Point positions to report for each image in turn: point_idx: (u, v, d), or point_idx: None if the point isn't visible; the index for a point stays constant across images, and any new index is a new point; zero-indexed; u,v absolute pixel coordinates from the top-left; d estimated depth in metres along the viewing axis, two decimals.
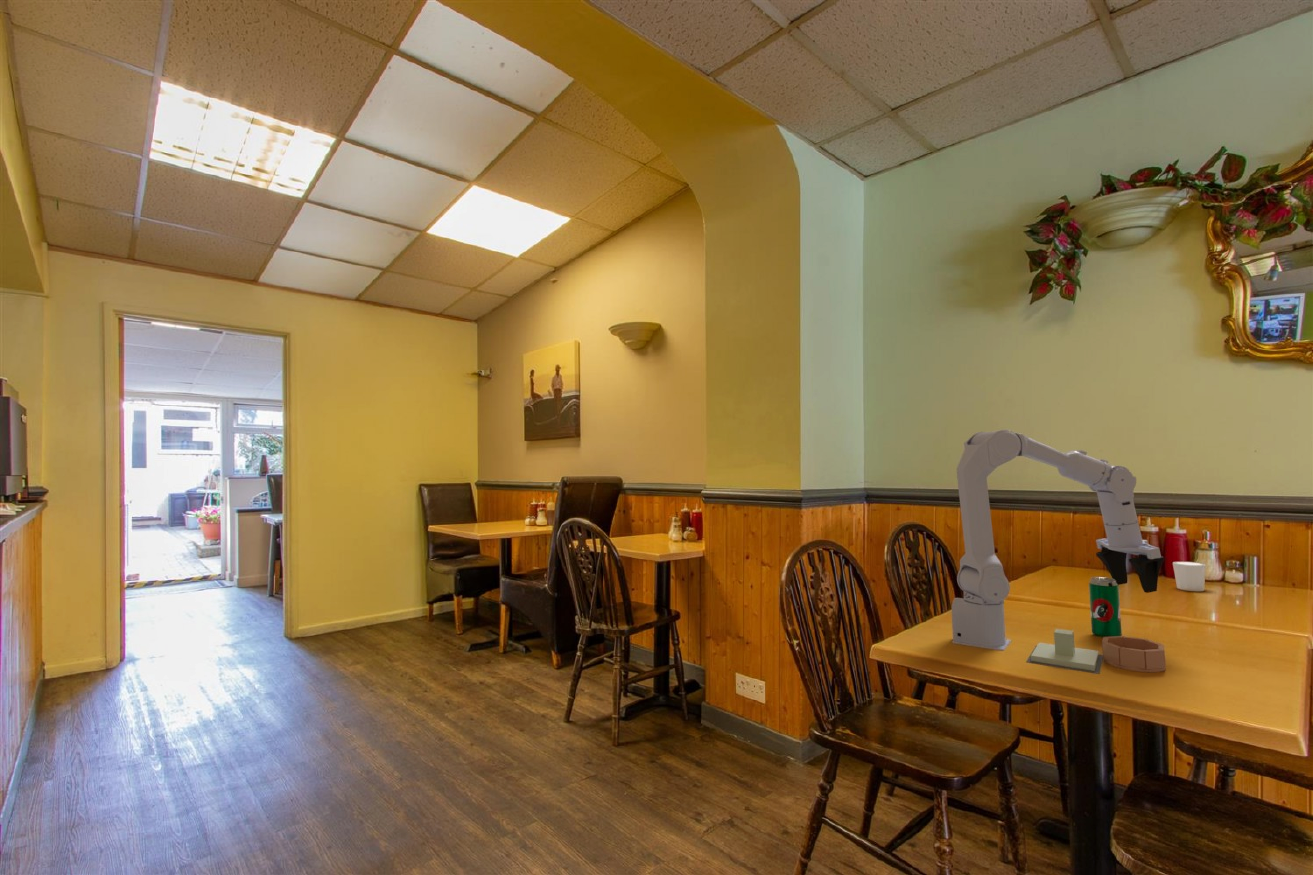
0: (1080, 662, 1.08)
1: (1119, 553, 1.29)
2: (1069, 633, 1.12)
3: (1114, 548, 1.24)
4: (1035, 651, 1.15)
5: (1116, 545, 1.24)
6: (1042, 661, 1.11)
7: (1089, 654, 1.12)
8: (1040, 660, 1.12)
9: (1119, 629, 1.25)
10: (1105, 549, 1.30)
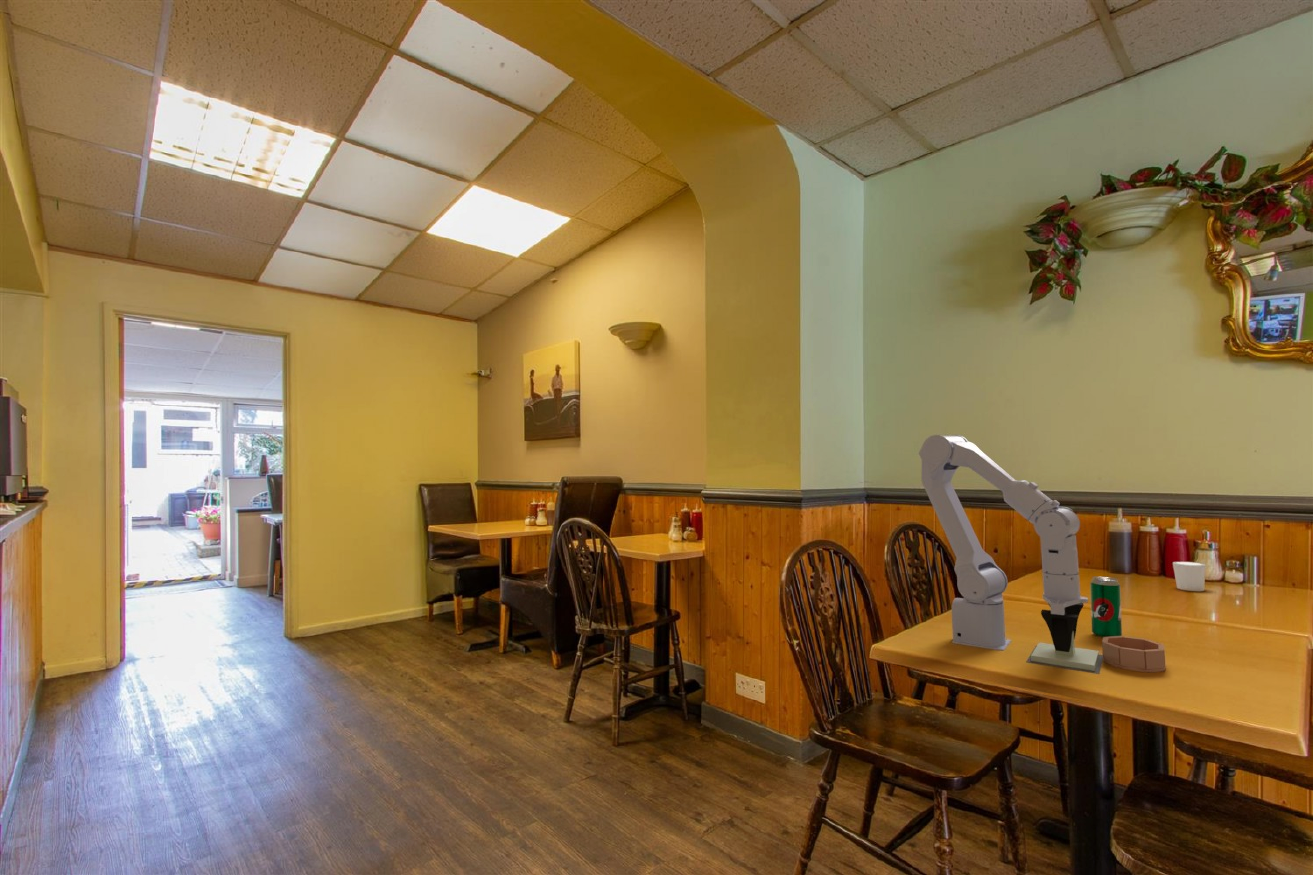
0: (1080, 662, 1.08)
1: (1071, 607, 1.16)
2: None
3: None
4: (1035, 651, 1.15)
5: (1044, 593, 1.15)
6: (1042, 661, 1.11)
7: (1089, 654, 1.12)
8: (1040, 660, 1.12)
9: (1119, 629, 1.25)
10: None
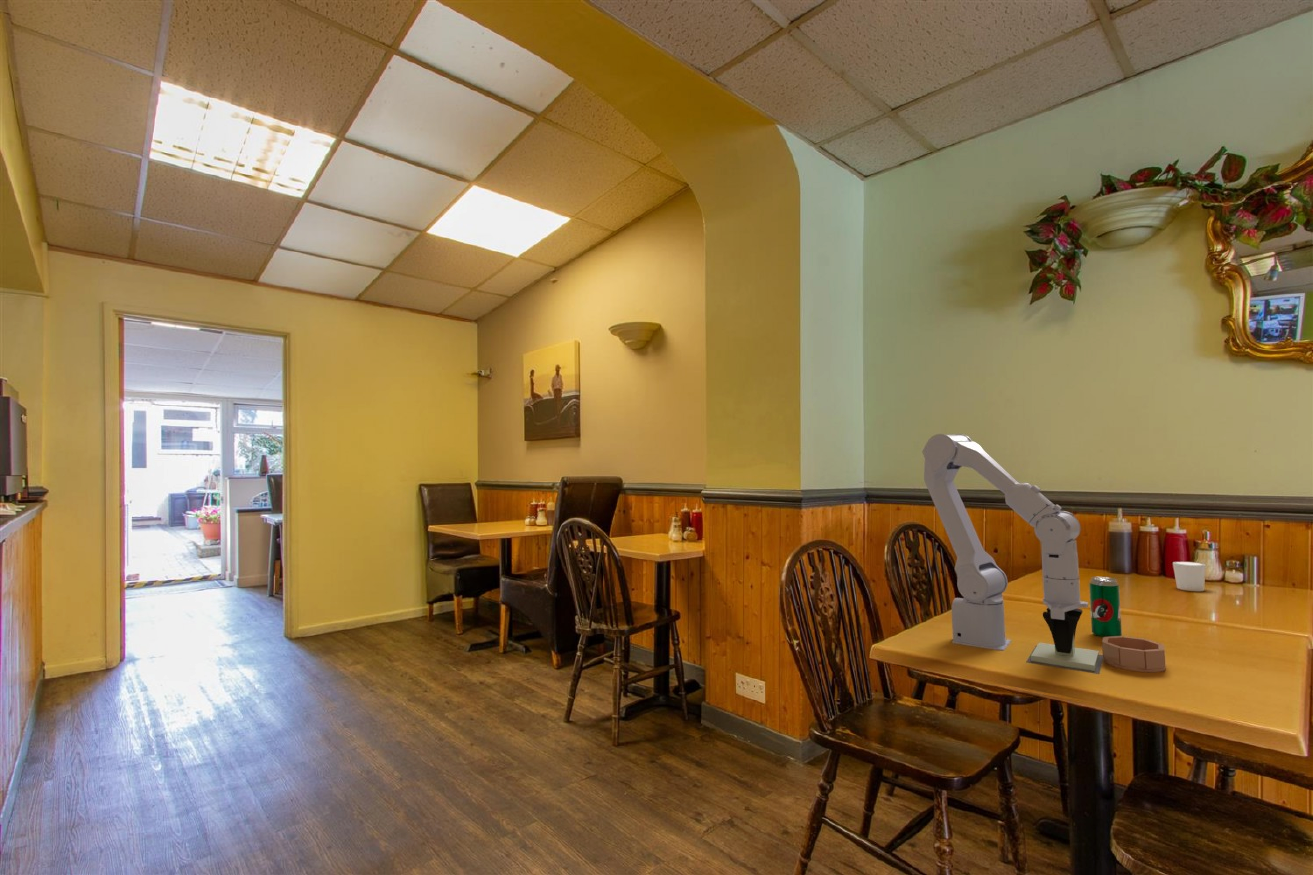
0: (1080, 662, 1.08)
1: (1069, 614, 1.14)
2: None
3: (1043, 601, 1.15)
4: (1035, 651, 1.15)
5: (1044, 598, 1.15)
6: (1042, 661, 1.11)
7: (1089, 654, 1.12)
8: (1040, 660, 1.12)
9: (1119, 629, 1.25)
10: None
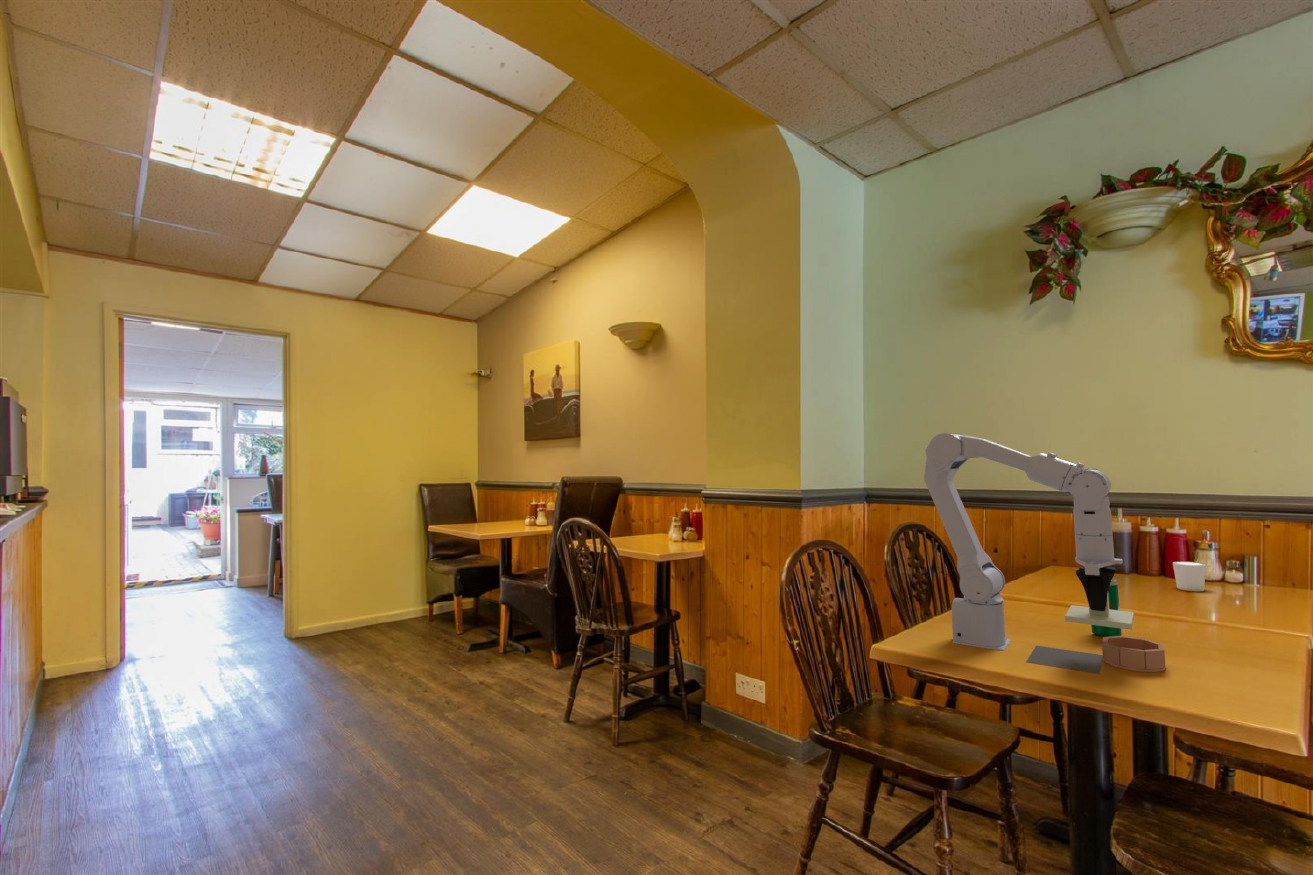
0: (1116, 621, 1.06)
1: (1103, 572, 1.12)
2: None
3: (1075, 559, 1.13)
4: (1068, 612, 1.13)
5: (1077, 556, 1.13)
6: (1076, 621, 1.10)
7: (1124, 615, 1.10)
8: (1074, 620, 1.10)
9: (1119, 629, 1.25)
10: None
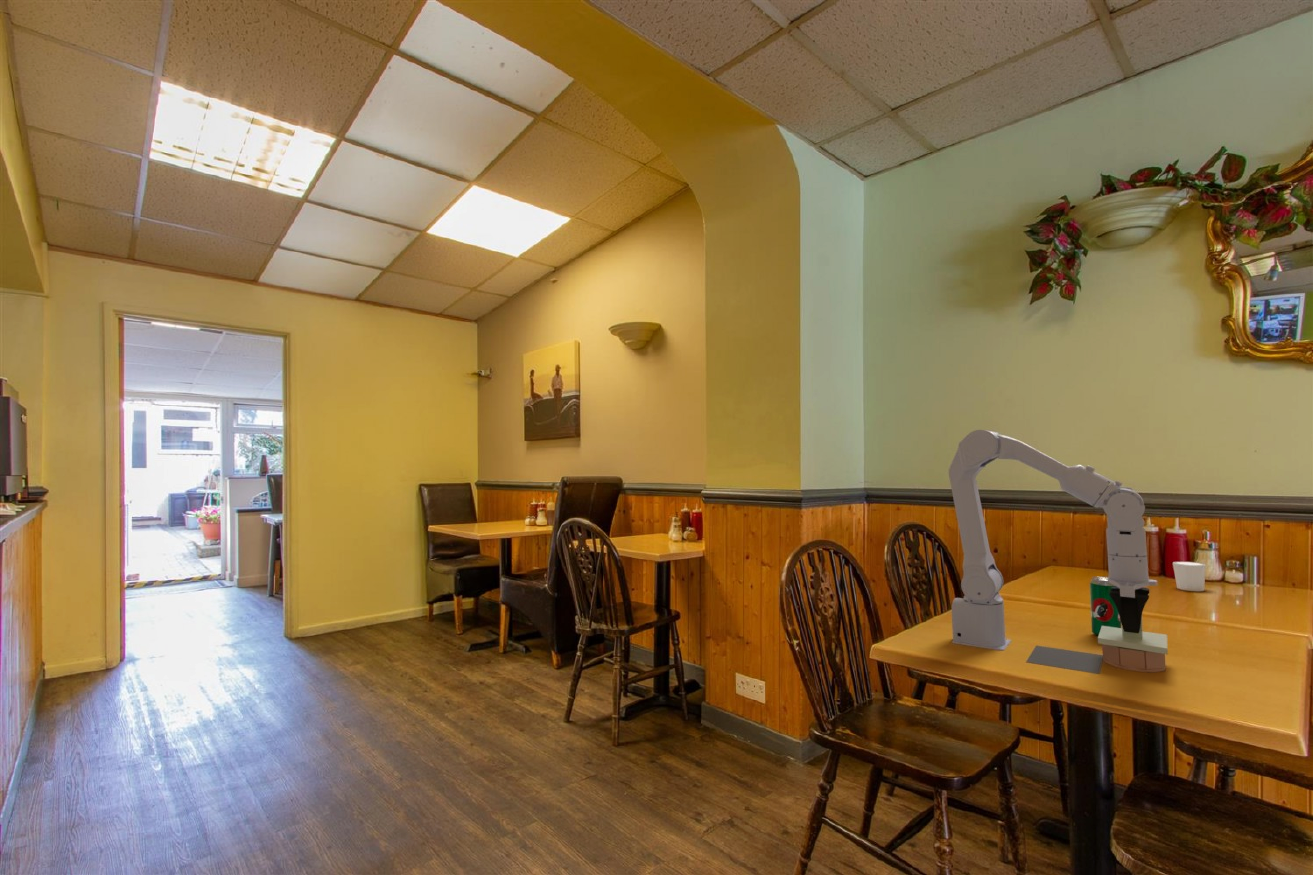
0: (1151, 645, 1.05)
1: (1136, 593, 1.11)
2: None
3: (1108, 579, 1.11)
4: (1101, 634, 1.11)
5: (1109, 576, 1.11)
6: (1110, 644, 1.08)
7: (1158, 638, 1.08)
8: (1108, 643, 1.08)
9: None
10: None
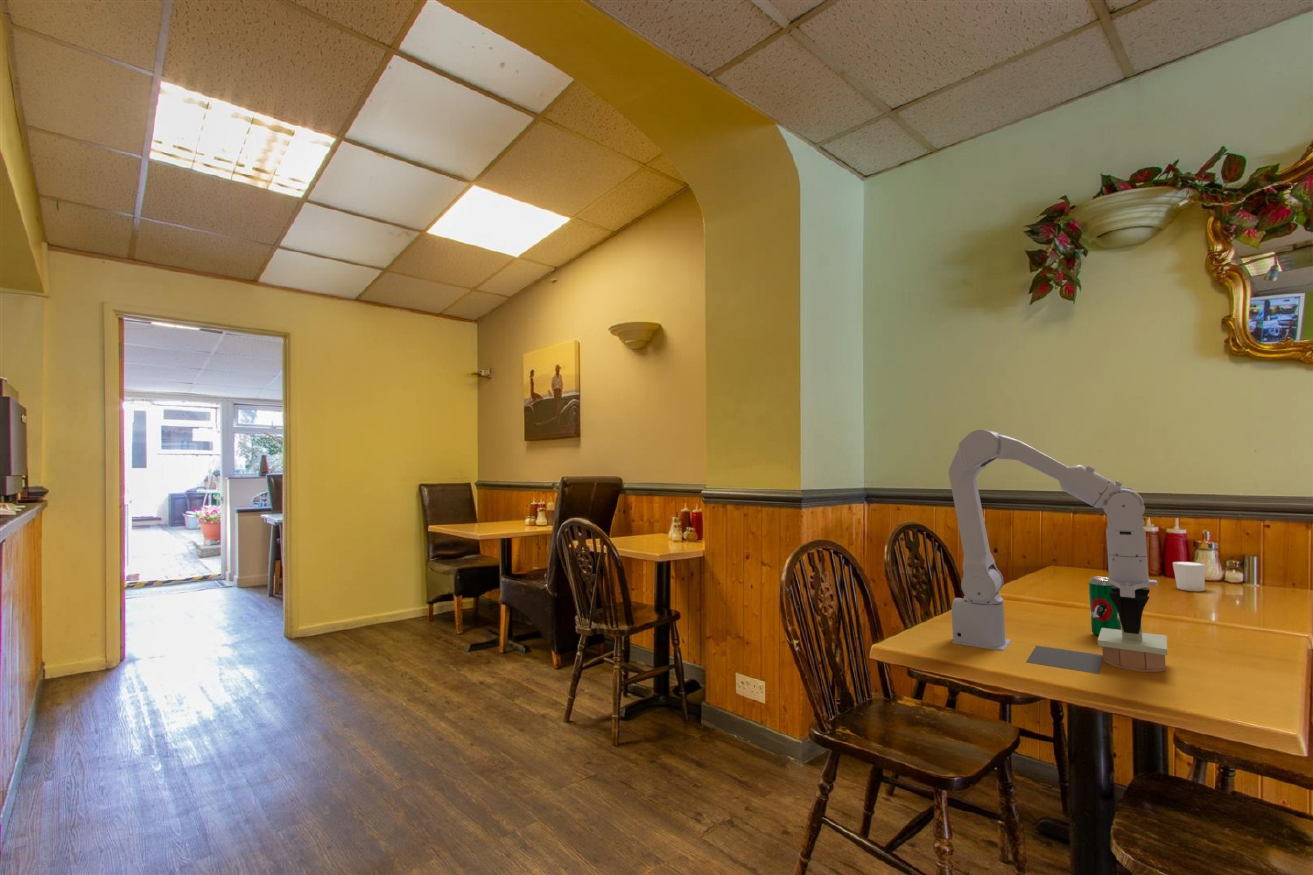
0: (1151, 646, 1.05)
1: (1136, 593, 1.11)
2: None
3: (1108, 579, 1.11)
4: (1100, 636, 1.11)
5: (1109, 576, 1.11)
6: (1110, 646, 1.08)
7: (1158, 639, 1.08)
8: (1107, 645, 1.08)
9: (1118, 629, 1.25)
10: None
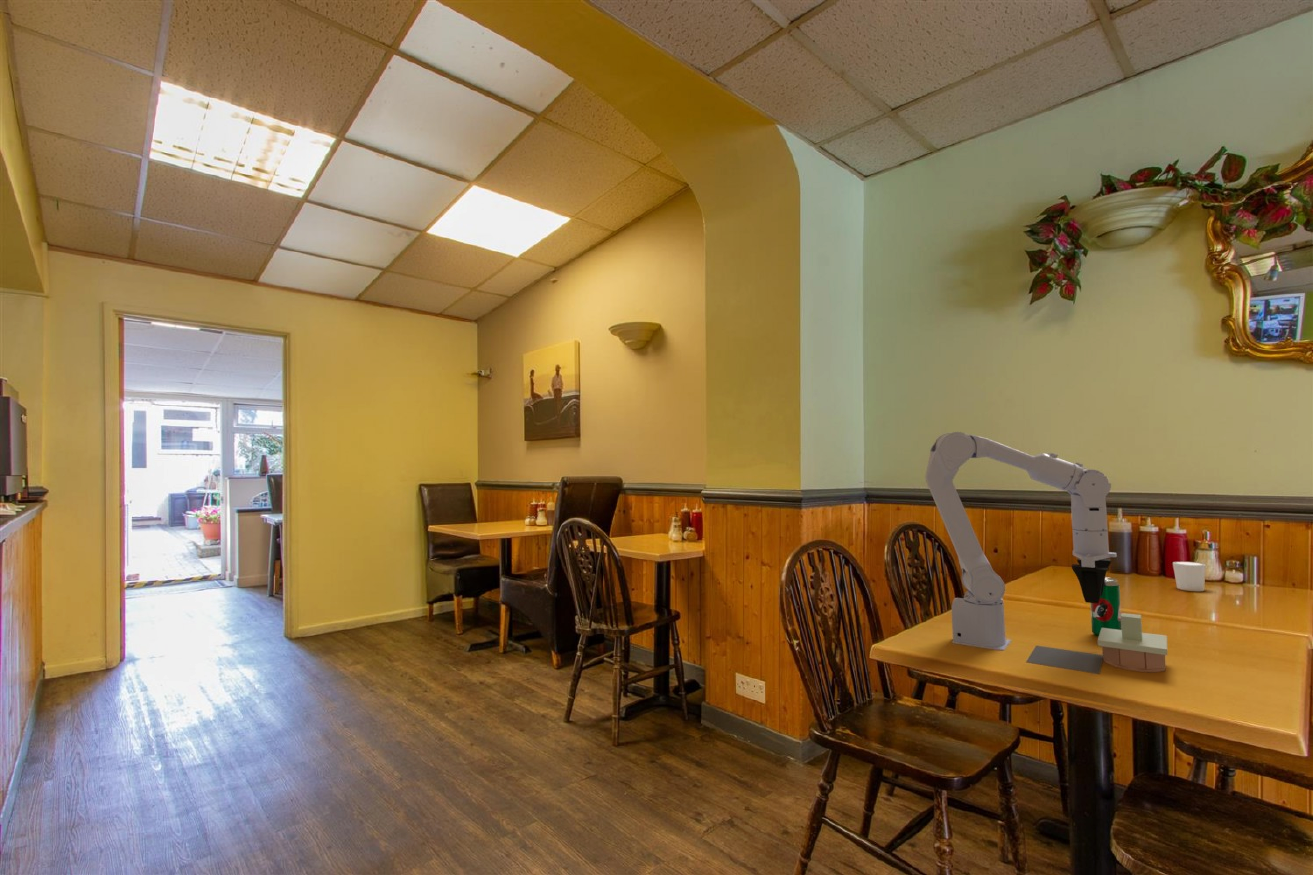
0: (1151, 646, 1.05)
1: (1099, 563, 1.22)
2: (1137, 617, 1.09)
3: None
4: (1100, 636, 1.11)
5: (1074, 550, 1.21)
6: (1110, 646, 1.08)
7: (1158, 639, 1.08)
8: (1107, 645, 1.08)
9: (1119, 629, 1.25)
10: None
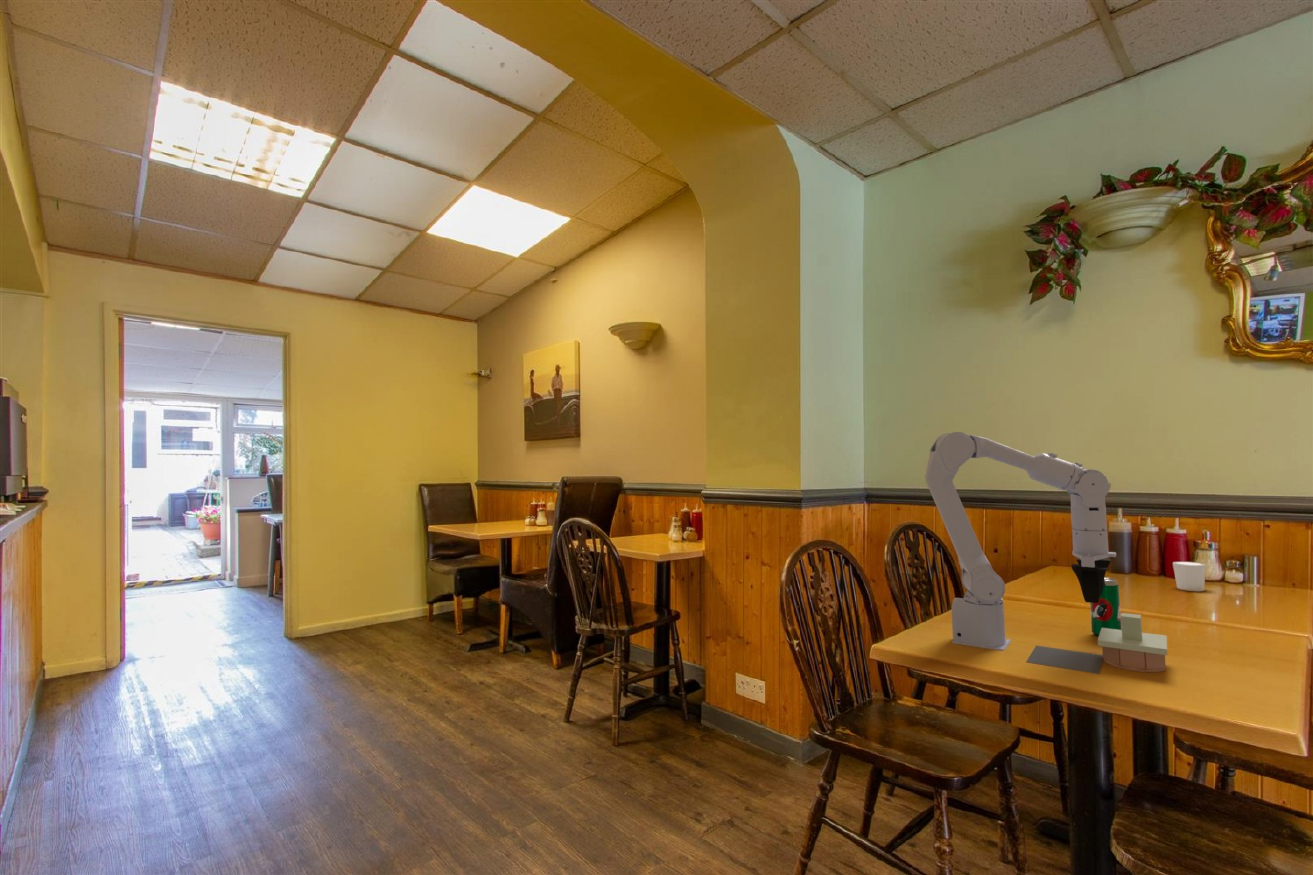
0: (1151, 646, 1.05)
1: (1099, 563, 1.22)
2: (1137, 617, 1.09)
3: (1072, 552, 1.21)
4: (1100, 636, 1.11)
5: (1073, 550, 1.21)
6: (1110, 646, 1.08)
7: (1158, 639, 1.08)
8: (1107, 645, 1.08)
9: (1119, 629, 1.25)
10: None
